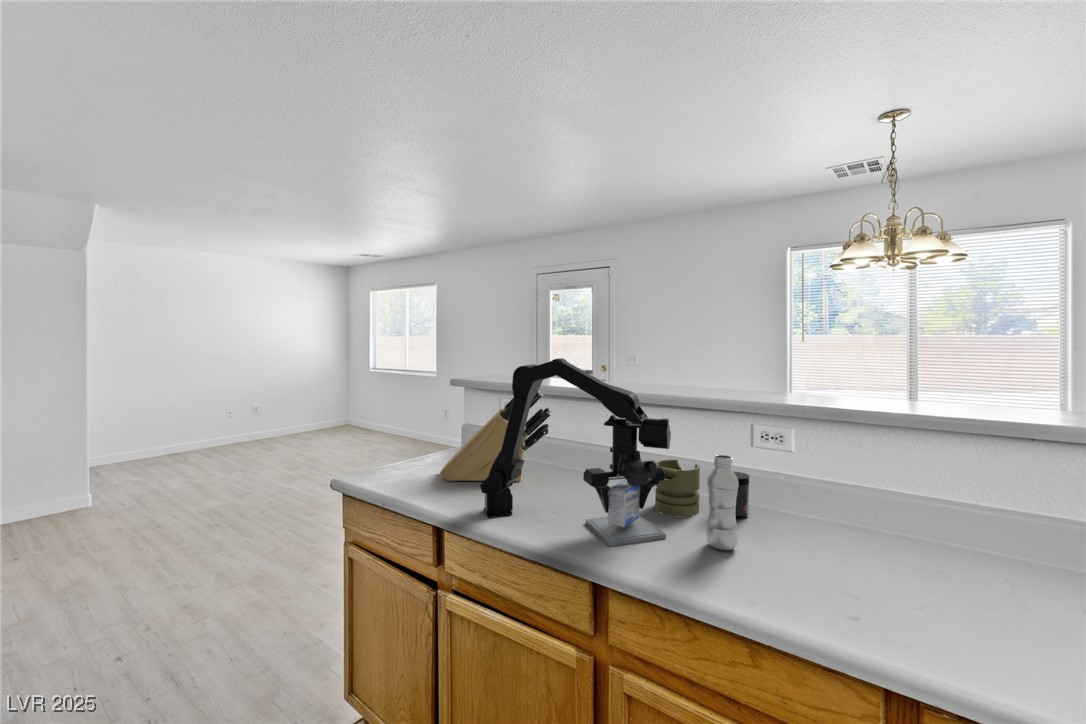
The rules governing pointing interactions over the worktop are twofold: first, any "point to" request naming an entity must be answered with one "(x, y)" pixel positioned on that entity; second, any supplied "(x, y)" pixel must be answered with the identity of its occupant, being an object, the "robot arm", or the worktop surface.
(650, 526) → the slate pad
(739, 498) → the supplement container
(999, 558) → the worktop surface
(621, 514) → the medicine box
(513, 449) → the robot arm
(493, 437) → the knife block
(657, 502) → the piston
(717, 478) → the plastic bottle
